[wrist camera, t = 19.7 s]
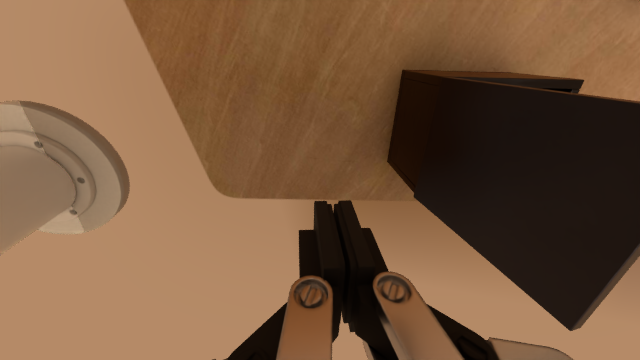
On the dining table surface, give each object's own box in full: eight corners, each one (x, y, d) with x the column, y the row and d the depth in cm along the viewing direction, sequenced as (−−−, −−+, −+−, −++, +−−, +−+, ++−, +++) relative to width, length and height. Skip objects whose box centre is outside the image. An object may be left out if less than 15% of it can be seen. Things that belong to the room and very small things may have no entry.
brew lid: (755, 116, 8) (742, 116, 8) (580, 328, 14) (570, 331, 13) (449, 76, 21) (441, 76, 21) (419, 195, 26) (413, 196, 26)
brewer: (509, 72, 30) (585, 79, 22) (479, 160, 35) (531, 191, 28) (402, 69, 29) (442, 76, 21) (387, 161, 34) (414, 194, 26)
